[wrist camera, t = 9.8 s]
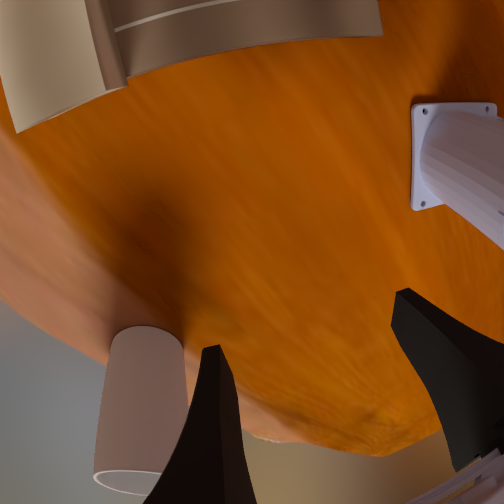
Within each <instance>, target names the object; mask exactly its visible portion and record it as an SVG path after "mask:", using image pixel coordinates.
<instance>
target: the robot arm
mask: <svg viewBox="0 0 504 504" xmlns="http://www.w3.org/2000/svg"><path fill="white" fill-rule="evenodd" d="M423 109H425V112H424V113H423V112H422V111H423ZM485 109H486V110H485ZM411 120H412V185H411V208H412V209H413V210H415V211H418V210H422V209H426V208H430V207H433V206H437V205H441V204H446V205H448V206H449V207H450V208H452V209H453V210H454V211H456V212H457V213H458V214H460V215H461V216H462V217H464V218H465V219H466V220H467V221H469V222H470V223H471V224H473V225H474V226H475V227H476V228H478V229H479V230H480V231H481V232H483V233H484V234H485V235H486V236H487V237H489V238H490V239H491V240H492V241H493V242H495V243H496V244H497V245H498V246H499V247H500V248H502V249H503V250H504V119H503V118H501V117H498V116H497V106H496V104H494V103H487V102H445V103H420V104H414V105H413V106H412V108H411ZM422 201H423V203H422V204H421V202H422ZM391 327H392V329H393V332H394V334H395V336H396V338H397V340H398V342H399V344H400V346H401V348H402V349H403V351H404V353H405V354H406V356H407V358H408V359H409V361H410V362H411V364H412V366H413V367H414V369H415V370H416V372H417V374H418V375H419V377H420V378H421V380H422V382H423V383H424V385H425V387H426V389H427V391H428V393H429V395H430V397H431V400H432V402H433V404H434V406H435V409H436V411H437V414H438V417H439V419H440V422H441V425H442V428H443V431H444V434H445V437H446V440H447V444H448V447H449V452H450V455H451V460H452V465H453V467H454V469H455V471H456V472H458V471H460V470H461V469H463V468H465V467H466V466H468V465H469V464H471V463H472V462H474V461H475V460H477V459H478V458H480V457H481V460H479V461H478V462H476V463H475V464H473V465H472V466H470V467H469V468H467V469H466V470H464V471H462V472H461V473H459V474H458V475H456V476H454V477H453V478H451V479H449V480H448V481H446V482H444V483H442V484H441V485H439V486H437V487H435V488H433V489H431V490H429V491H428V492H426V493H424V494H422V495H420V496H418V497H416V498H414V499H412V500H410V501H408V502H405V503H403V504H434V503H436V502H438V501H440V500H441V499H443V498H445V497H447V496H448V495H449V494H452V493H453V492H455V491H457V490H458V489H460V488H461V487H463V486H465V485H466V484H468V483H469V482H471V481H472V480H474V479H475V478H476V479H475V481H474V485H473V486H471V487H470V488H468V489H467V490H465V491H463V492H461V493H460V494H458V495H456V496H455V497H453V498H452V499H450V500H449V501H447V502H445V503H444V504H504V344H502V343H500V342H497V341H495V340H493V339H491V338H489V337H487V336H485V335H483V334H481V333H479V332H477V331H475V330H473V329H471V328H470V327H468V326H466V325H464V324H463V323H461V322H459V321H458V320H456V319H455V318H453V317H451V316H450V315H448V314H447V313H445V312H444V311H442V310H441V309H439V308H438V307H436V306H435V305H433V304H432V303H431V302H429V301H428V300H426V299H425V298H423V297H422V296H420V295H419V294H417V293H416V292H414V291H413V290H411V289H410V288H406V289H403V290H400V291H398V292H396V296H395V303H394V309H393V315H392V321H391ZM143 504H257V502H256V499H255V495H254V491H253V487H252V483H251V480H250V476H249V472H248V467H247V463H246V459H245V454H244V448H243V441H242V432H241V423H240V414H239V405H238V396H237V392H236V387H235V382H234V378H233V374H232V371H231V369H230V367H229V365H228V362H227V360H226V358H225V356H224V353H223V351H222V349H221V346H220V344H219V345H215V346H210V347H206V348H204V349H203V350H202V356H201V362H200V368H199V373H198V378H197V383H196V387H195V391H194V395H193V399H192V402H191V405H190V409H189V412H188V415H187V418H186V421H185V424H184V427H183V430H182V432H181V435H180V437H179V440H178V442H177V444H176V447H175V449H174V451H173V453H172V455H171V457H170V459H169V461H168V463H167V465H166V467H165V469H164V471H163V473H162V474H161V476H160V478H159V479H158V481H157V483H156V485H155V486H154V488H153V489H152V491H151V492H150V494H149V495H148V497H147V498H146V500H145V501H144V503H143Z"/></svg>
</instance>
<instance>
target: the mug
mask: <svg viewBox="0 0 504 504" xmlns="http://www.w3.org/2000/svg"><path fill="white" fill-rule="evenodd" d="M188 412H189V411H188V400H187V388H186V375H185V365H184V352H183V348H182V345H181V343H180V342H179V341H178V340H177V339H176V338H175V337H174V336H173V335H172V334H170V333H168V332H166V331H164V330H162V329H159V328H155V327H150V326H134V327H130V328H127V329H124V330H122V331H121V332H119V333H118V334H117V335H116V336H115V337H114V339H113V341H112V344H111V349H110V354H109V359H108V364H107V369H106V375H105V381H104V387H103V393H102V400H101V406H100V414H99V421H98V429H97V437H96V446H95V457H94V474H93V478H94V480H95V481H96V482H98V483H99V484H101V485H103V486H105V487H108V488H111V489H113V490H116V491H120V492H124V493H130V494H136V495H145V496H148V495H149V494H150V492H151V491H152V489H153V488H154V486H155V485H156V483H157V481H158V479H159V478H160V476H161V474H162V473H163V471H164V469H165V467H166V465H167V463H168V461H169V459H170V457H171V455H172V453H173V451H174V449H175V447H176V444H177V442H178V440H179V437H180V435H181V432H182V430H183V427H184V424H185V421H186V418H187V415H188Z"/></svg>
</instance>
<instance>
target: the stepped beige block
mask: <svg viewBox="0 0 504 504" xmlns="http://www.w3.org/2000/svg"><path fill="white" fill-rule="evenodd" d="M0 75H1V79H2V84H3V88H4V92H5V95H6V99H7V103H8V106H9V110H10V113H11V116H12V120H13V123H14V126H15V129H16V132H17V133H19V132H21V131H23V130H25V129H28V128H30V127H32V126H34V125H37V124H39V123H41V122H43V121H46V120H48V119H51V118H53V117H55V116H58V115H60V114H62V113H64V112H66V111H68V110H70V109H72V108H75V107H77V106H79V105H81V104H84V103H86V102H88V101H91V100H93V99H96V98H98V97H100V96H103V95H105V94H108V93H111V92H113V91H116V90H119V89H121V88H124V87H127V86H129V85H128V82H127V78H126V74H125V70H124V67H123V63H122V59H121V55H120V51H119V47H118V43H117V39H116V34H115V30H114V26H113V21H112V17H111V12H110V8H109V3H108V0H0Z"/></svg>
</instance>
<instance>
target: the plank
mask: <svg viewBox="0 0 504 504" xmlns="http://www.w3.org/2000/svg"><path fill="white" fill-rule="evenodd" d="M108 3H109V8H110V12H111V17H112V21H113V26H114V30H115V34H116V39H117V43H118V47H119V51H120V55H121V59H122V63H123V67H124V70H125V74H126V78H127V79H129V78H132V77H135V76H138V75H141V74H144V73H147V72H150V71H153V70H156V69H159V68H163V67H166V66H170V65H173V64H177V63H180V62H184V61H188V60H192V59H196V58H200V57H204V56H208V55H213V54H217V53H222V52H227V51H232V50H237V49H242V48H248V47H254V46H260V45H267V44H274V43H282V42H291V41H301V40H312V39H327V38H356V37H373V36H384V35H383V29H382V23H381V17H380V12H379V7H378V2H377V0H108Z"/></svg>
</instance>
